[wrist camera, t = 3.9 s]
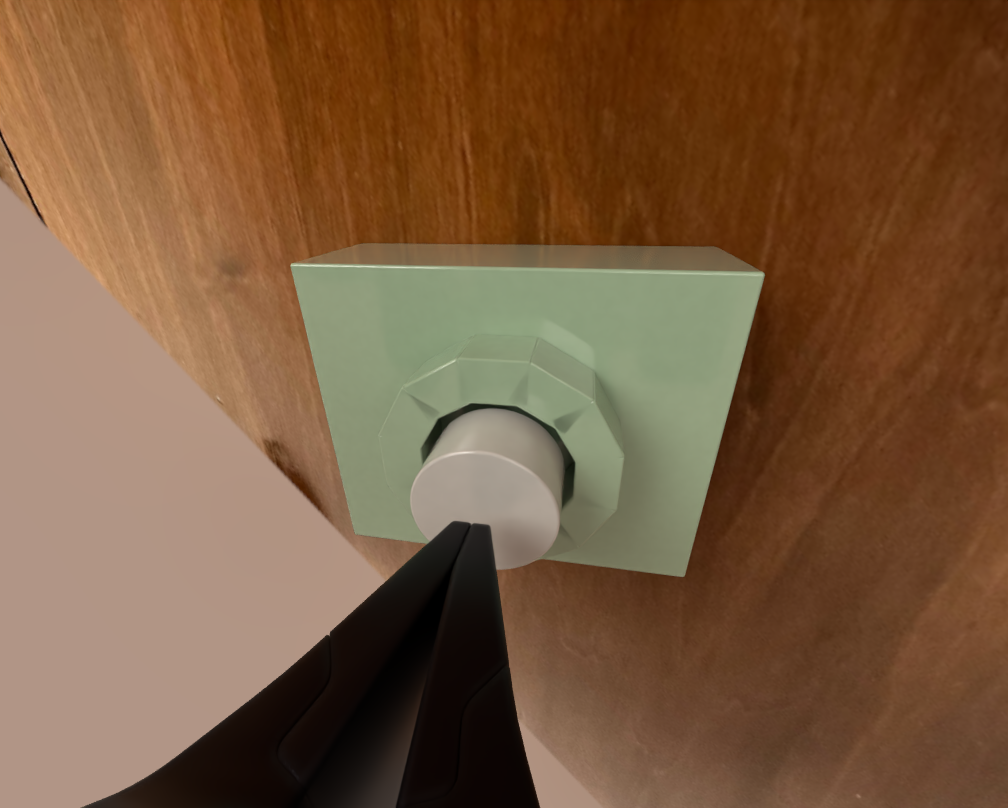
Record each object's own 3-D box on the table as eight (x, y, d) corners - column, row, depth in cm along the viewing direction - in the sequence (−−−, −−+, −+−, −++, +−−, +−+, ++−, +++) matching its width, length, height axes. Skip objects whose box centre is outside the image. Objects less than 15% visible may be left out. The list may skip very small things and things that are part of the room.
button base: (397, 469, 20) (328, 573, 15) (360, 243, 15) (241, 276, 10) (665, 497, 18) (696, 627, 13) (718, 246, 13) (801, 290, 8)
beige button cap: (441, 507, 13) (417, 560, 11) (430, 402, 11) (400, 444, 9) (561, 521, 12) (556, 579, 10) (568, 412, 11) (564, 459, 9)
